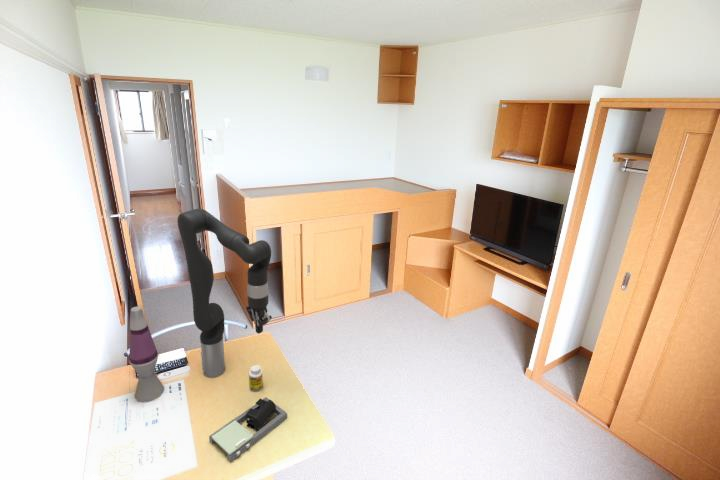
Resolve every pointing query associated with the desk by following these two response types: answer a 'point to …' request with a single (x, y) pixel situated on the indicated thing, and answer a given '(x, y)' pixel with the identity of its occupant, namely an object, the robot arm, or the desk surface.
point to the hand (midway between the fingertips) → (259, 332)
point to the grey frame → (259, 434)
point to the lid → (231, 436)
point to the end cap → (260, 414)
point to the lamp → (143, 357)
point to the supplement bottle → (255, 378)
